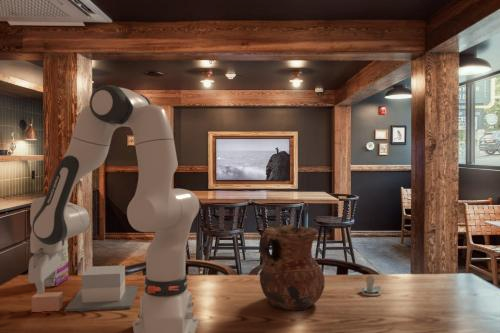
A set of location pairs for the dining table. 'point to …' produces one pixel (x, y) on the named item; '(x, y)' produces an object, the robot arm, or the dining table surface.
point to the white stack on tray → (103, 290)
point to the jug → (290, 268)
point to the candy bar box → (61, 268)
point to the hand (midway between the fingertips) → (46, 288)
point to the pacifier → (370, 287)
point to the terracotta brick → (47, 301)
